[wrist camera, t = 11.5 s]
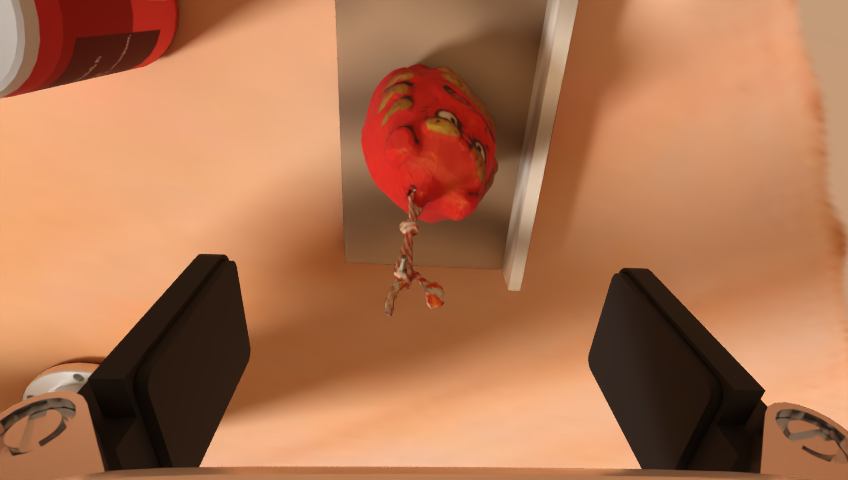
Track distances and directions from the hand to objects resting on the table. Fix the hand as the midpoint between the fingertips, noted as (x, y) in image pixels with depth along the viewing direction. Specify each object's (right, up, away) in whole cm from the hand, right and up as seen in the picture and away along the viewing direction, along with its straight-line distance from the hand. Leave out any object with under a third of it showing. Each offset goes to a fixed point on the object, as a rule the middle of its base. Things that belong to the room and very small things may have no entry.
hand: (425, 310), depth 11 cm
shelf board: (+1, +9, +16) cm, 18 cm away
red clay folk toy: (0, +9, +15) cm, 18 cm away
